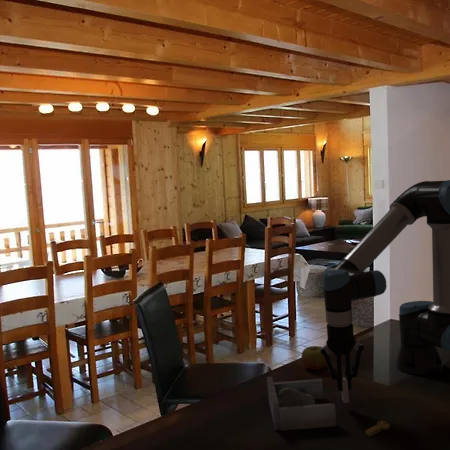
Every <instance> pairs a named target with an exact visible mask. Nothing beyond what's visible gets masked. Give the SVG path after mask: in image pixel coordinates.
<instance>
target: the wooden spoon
mask: <svg viewBox="0 0 450 450" xmlns="http://www.w3.org/2000/svg"><path fill="white" fill-rule="evenodd" d="M388 430H390V422H389V421H387V420H378V421H377V423H376V425H373V426H371V427H370V428H368V429H366V430H365V435H367V436H368V437H372V436H374V435H376V434H378V433H380V432H382V431H388Z"/></svg>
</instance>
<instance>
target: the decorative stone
mask: <svg viewBox="0 0 450 450" xmlns="http://www.w3.org/2000/svg"><path fill="white" fill-rule="evenodd" d="M304 405H316V400H314V397H313V396H312V395H311V394H303V393H301V392H299V391H298V390H295V389H292V388H283V389H281V390H280V392H279V407H291V406H304Z"/></svg>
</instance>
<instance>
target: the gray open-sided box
mask: <svg viewBox="0 0 450 450" xmlns="http://www.w3.org/2000/svg"><path fill="white" fill-rule="evenodd" d="M266 380H267V395H268V403H269V408H270V413H271V416H272V417H271V418H272V421H273V426H274V431H275V432H278V431H280V432H281V431H292V430H304V429H306V430H307V429H317V428H330V427H337V415H336V404H335V403H334V402H332V403H317V404H316V403H315V405H304V406H291V407H279V392H280V390H281V389H283V388H292V389H295V390H298V391H299V392H301V393H303V394H311V395H312V396H313V397H314V400H315V399H319V400H324V399H325V398H324V383H323V379H322V378H315V379H314V378H313V379H303V380H290V381H287V380H286V381H277V382H274V380H273V376H267V377H266ZM315 401H316V400H315Z"/></svg>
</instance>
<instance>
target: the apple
mask: <svg viewBox="0 0 450 450" xmlns="http://www.w3.org/2000/svg"><path fill="white" fill-rule="evenodd" d="M320 347H321V346H317V345H312V346H308V347H305V348H304V349H303V351H302V352H301V363H302V365H303V366H304V367H305V368H306V369H308V370H310V371H320V370H323V369H325V368H327V364H326V361H325V358H324V355H323V354H322V353H321V351H320V350H319V348H320ZM327 354H328V356H329V357H330V355H329V352H328V353H327Z"/></svg>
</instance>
